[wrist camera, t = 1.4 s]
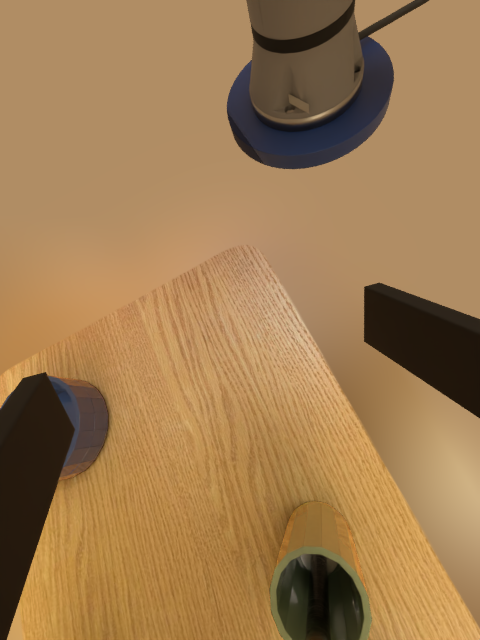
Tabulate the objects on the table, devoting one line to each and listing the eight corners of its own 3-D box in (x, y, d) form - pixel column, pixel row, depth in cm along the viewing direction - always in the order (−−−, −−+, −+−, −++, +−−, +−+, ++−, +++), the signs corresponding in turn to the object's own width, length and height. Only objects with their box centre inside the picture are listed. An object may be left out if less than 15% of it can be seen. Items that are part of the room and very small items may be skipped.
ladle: (325, 514, 26) (350, 967, 5) (344, 552, 25) (483, 1351, 4) (294, 529, 27) (190, 1019, 5) (312, 567, 26) (272, 1394, 4)
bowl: (97, 364, 37) (66, 358, 33) (122, 451, 33) (90, 458, 29) (26, 405, 38) (-15, 404, 33) (42, 494, 34) (-2, 507, 30)
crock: (330, 490, 27) (335, 530, 18) (365, 559, 25) (392, 644, 16) (275, 516, 28) (254, 569, 19) (306, 586, 26) (298, 684, 17)
